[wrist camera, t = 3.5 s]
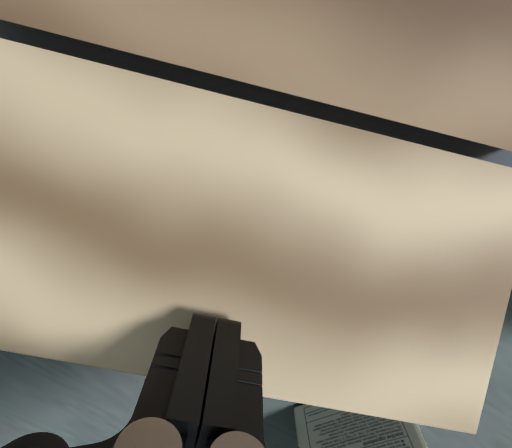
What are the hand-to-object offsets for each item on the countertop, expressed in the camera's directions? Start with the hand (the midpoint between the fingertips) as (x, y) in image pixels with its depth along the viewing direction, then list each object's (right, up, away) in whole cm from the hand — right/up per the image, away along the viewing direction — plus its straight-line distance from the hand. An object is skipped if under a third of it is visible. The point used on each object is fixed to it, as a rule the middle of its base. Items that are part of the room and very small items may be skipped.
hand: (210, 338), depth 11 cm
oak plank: (0, +3, +2) cm, 4 cm away
